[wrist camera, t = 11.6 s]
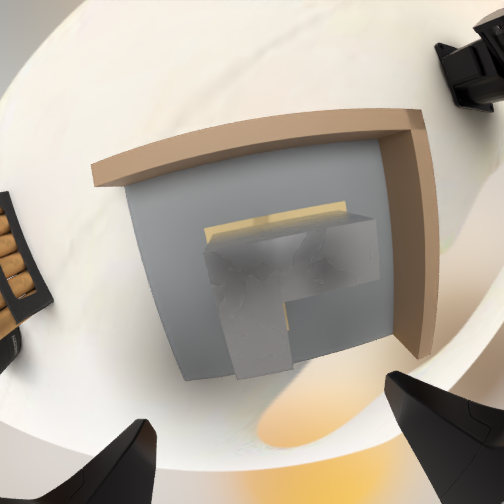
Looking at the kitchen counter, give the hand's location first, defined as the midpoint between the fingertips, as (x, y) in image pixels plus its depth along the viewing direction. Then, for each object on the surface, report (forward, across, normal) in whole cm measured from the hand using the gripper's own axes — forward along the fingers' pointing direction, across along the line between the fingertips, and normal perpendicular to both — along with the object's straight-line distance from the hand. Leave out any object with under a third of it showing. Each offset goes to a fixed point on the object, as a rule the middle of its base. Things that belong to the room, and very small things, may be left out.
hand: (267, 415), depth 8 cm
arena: (+11, -3, -3) cm, 11 cm away
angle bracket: (+10, -3, -2) cm, 10 cm away
